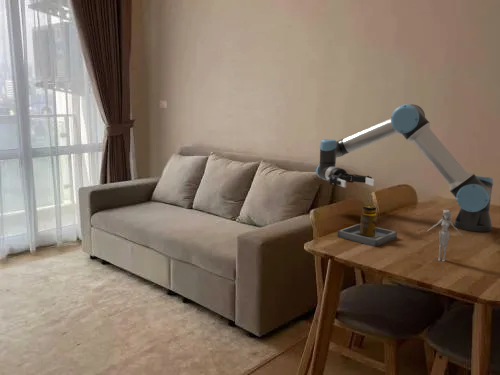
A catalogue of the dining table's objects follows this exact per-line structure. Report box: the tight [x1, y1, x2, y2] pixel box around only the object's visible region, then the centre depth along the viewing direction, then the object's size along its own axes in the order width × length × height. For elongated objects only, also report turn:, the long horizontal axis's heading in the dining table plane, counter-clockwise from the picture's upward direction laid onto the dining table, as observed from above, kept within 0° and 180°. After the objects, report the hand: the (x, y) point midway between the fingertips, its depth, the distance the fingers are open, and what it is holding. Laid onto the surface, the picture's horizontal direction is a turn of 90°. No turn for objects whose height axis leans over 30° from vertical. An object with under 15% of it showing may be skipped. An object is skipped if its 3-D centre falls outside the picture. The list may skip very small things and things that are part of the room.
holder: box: [337, 222, 398, 247], centre depth 196 cm, size 17×17×2 cm
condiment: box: [352, 204, 379, 238], centre depth 195 cm, size 7×8×12 cm
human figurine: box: [426, 209, 464, 262], centre depth 170 cm, size 12×4×18 cm, turn 64°
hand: (360, 183), depth 203 cm, fingers open, 13 cm apart
